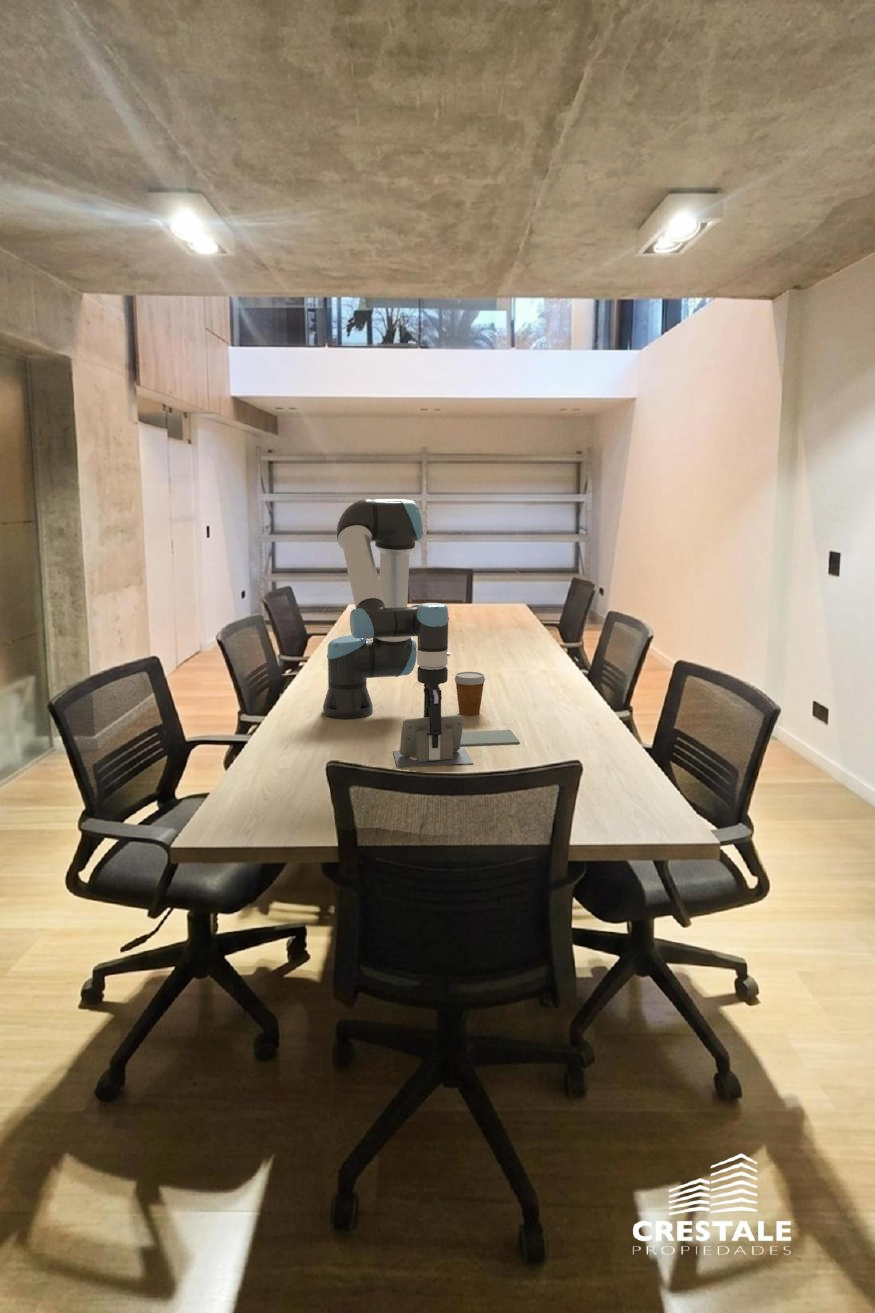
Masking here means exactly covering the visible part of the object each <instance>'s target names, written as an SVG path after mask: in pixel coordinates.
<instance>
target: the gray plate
mask: <svg viewBox="0 0 875 1313" xmlns="http://www.w3.org/2000/svg"><path fill="white" fill-rule="evenodd" d="M392 753H393V758H394V762H395V765H396V768H415V767H416V768H418V767H421V768H423V767H439V766H438V765H446V766H452V765H451V764H469V765H474V762H473V760H472V758H471V757H470V755H469V753H468V751H467V749H466V748H465V747H460V749H459V750H458V751H457V752H453V759H448V760H437V761H427V762H419V761H418V760H417V759H416V757H415V756H402V755H401V754H400V749H398V750H392Z"/></svg>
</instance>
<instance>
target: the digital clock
mask: <svg viewBox="0 0 875 1313" xmlns="http://www.w3.org/2000/svg"><path fill="white" fill-rule="evenodd" d="M464 720H465V718H464V715H461V714H460V715H457V714H455V715H454V714H451V715H441V731H442V734H441V735H440V760H448V759H453V752H457V751H458V750H459V749H460V748H461V746H460V744H461V737H462V732H463V731H464V730H463V729H464ZM427 733H430V723H429V717H425V718H424V717H414V718H406V719H404V720H403V721H402V724H401V736H400V747H399V750H400V754H401V755H402V756H415V757H416V759H417V760H418V761H419V762H427V761H437V760H429V736H427Z"/></svg>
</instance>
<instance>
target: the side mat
mask: <svg viewBox="0 0 875 1313" xmlns="http://www.w3.org/2000/svg"><path fill="white" fill-rule="evenodd" d="M520 743H521V741H520V740H519V739H518V737H517V736H516V735H515V733H514V732H513V731H512V730H511V729H498V730H497V729H496V730H471V731H470V730H469V731H467V730H466V731H462V737H461V744H460V747H465V746H467V747H468V746H470V747H471V746H472V745H473V746H494V745H517V744H519V745H520Z"/></svg>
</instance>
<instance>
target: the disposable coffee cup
mask: <svg viewBox="0 0 875 1313" xmlns="http://www.w3.org/2000/svg"><path fill="white" fill-rule="evenodd" d="M453 680H454V682H455V688H456V695H457V704H458V712H459V714H460V715H462V716H476V715H480V714H481V713H480V712H481V705H482V698H483V691H484V683H485V681H486V678H485V675H484V673H482V672H478V671H462V672H461V671H460V672H457V673H455V677H454V678H453Z"/></svg>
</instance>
